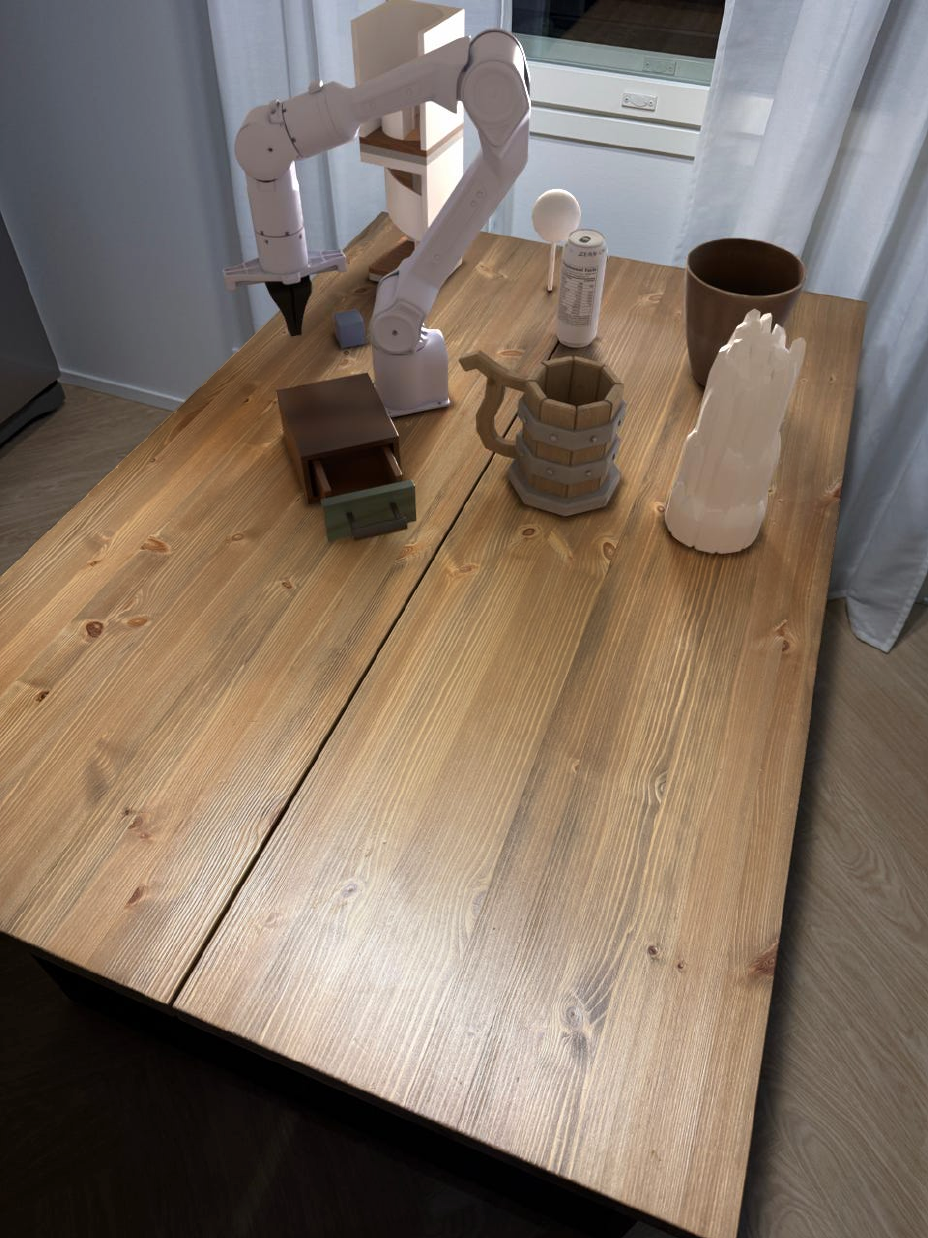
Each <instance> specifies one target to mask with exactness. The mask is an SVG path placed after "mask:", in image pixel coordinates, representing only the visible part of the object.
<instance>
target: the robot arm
mask: <svg viewBox="0 0 928 1238" xmlns="http://www.w3.org/2000/svg"><path fill="white" fill-rule="evenodd" d="M307 90H308V91H305V92H303V93H300V94H298V95H295V96H293V97H290V98H288V99H286V100H283V101H281V102H280V101H279V98H275V99H272V100H270V101H269V102H268V104H261V105H258V106H255V107H253V108H252V109H251V110H249V112H248V113H247V114H246V116H245V118H244V120H243V122H242V124H241V126H240V127H239V129H238V132H237V134H236V136H235V139H234V144H233V145H234V146H233V151H234V156H235V159H236V162H237V163H238V165H239V167H240V168H241V169H242V170H243V172H244V177H245V182H246V191H247V192H246V193H247V197H248V204H249V208H250V214H251V220H252V226H253V233H254V237H255V244H256V248H257V255H258V257H256V258H253V259H250V260H247V261H245V262H242V263H239V264H237V265H233V266H228V267H224V268H221V271H222V277H223V281H224V285H225V289H226V291H227V292H228V293H229V292H233V291H236V290H237V289H238V288H242V287H247V286H253V285H259V284H264V285H265V288H266V289H267V293H268V294H269V296H270V298H271V299H272V300H273V302H274V303H275V304H276V306H277V308H278V309H279V311H280V312H281V314H282V316H283V318H284V320H285V323H286V327H287V331H288V334H289V336H290V337H291V338H293V337H294V338H295V337H299V336H302V335H303V322H304V317H305V311H306V309H307V305H308V303H309V300H310V297H311V295H312V294H313V287H314V286H313V282H312V280H311V275H319V274H324V273H329V272H330V273H331V272H335V271H337V273H345V272H347V271H348V269H347V258H346V255H345V253H344V251H343V250H342V249H341V248H340V249H333V250H332V249H330V250H309V249H308V246H307V239H306V231H305V225H304V224H305V223H304V217H303V216H304V215H303V208H302V199H301V194H300V193H301V192H300V186H299V182H298V179H297V171H296V164H295V162H300V161H301V162H302V161H304V160H307V159H310V158H312V157H315V156H317V155H320V154H323V153H325V152H329V151H330V150H334V149H336V148H338V147H341V146H344V145H346V144H348V143H352V142H353V141H355V140H356V139H357V137H358V135H359V128H360V125H361V124H362V123H365V122H368V121H371V120H374V119H377V118H380V117H383V116H386V115H389V114H392V113H395V112H398V111H401V110H404V109H407V108H410V107H413V106H417V105H420V104H423V103H426V102H430V101H431V102H434V103H436V104H438V105H439V106H441V107H443V108H445V109H447V110H448V111H450V112H452V113H454V114H457V113H458V104H459V101H461V102H462V103H463V110H464V111H465V112H466V115H467V116H468V118H469V120H470V122H471V123H472V124H473V125H474V127H475V128H476V130H477V134H478V138H479V139H478V140H479V142H480V149H479V150H478V152H477V153H476V155H475V156H474V158H473V160H472V161H471V162H470V164H469V166H468V167H467V169H466V170H465V171H464V172H463V176H462V178H461V179H460V181H459V182H458V184H457V186H456V187H455V189H454V190H453V192H452V193H451V195H450V196H449V198H448V199H447V201H446V202H445V204H444V205H443V207H442V208H441V210H440V212H439V213H438V215H437V216H436V218H435V219H434V221H433V222H432V224H431V225H430V227H429V228H428V230H427V231H426V233H425V234H424V236H423V237H422V239H421V241H420V242H419V244H418V245H417V247H416V248H415V250H414V251H413V253H412V254H411V256H410V257H408V258H406V259H404V260H403V261H402V262H401V264H400V265H399V267H398V268H397V269H396V270H394V271H393V272H391V273H389V274H387V275H386V276H384V277H383V278H382V279H381V280H380V282H378V284H377V287H376V290H375V291H376V292H375V295H376V297H375V303H374V307H373V308H374V309H373V313H372V317H371V319H370V322H369V325H368V331H369V336H370V339H371V341H370V343H371V353H372V356H371V357H372V367H373V380H374V381H372V382H373V384H374V386H375V388H376V390H377V392H378V394H379V396H380V398H381V400H382V402H383V404H384V407H385V409H386V411H387V413H388V415H389V417H390V419H391V418H396V417H402V416H406V415H411V414H414V413H420V412H425V411H429V410H435V409H440V408H445V407H449V406H450V405H451V400H450V399H449V356H448V350H447V345H446V342H445V339H444V336H443V333H442V332H441V331H440V329H438V328H436V329H432V328H431V329H430V328H429V329H428V328H426V326H425V324H424V323H425V321H426V320H427V318H428V317H429V315H430V313H431V310H432V308H433V306H434V303H435V301H436V299H437V295H438V293H439V291H440V289H441V288H442V286H443V285H444V284H445V283H446V281H447V279H449V277H450V276H451V275H452V273H453V272H454V271H453V269H454V268H455V266H456V265H457V264H458V262H459V261H460V259H461V258H462V259H463V256H464V255H465V254H466V252H467V251H468V249H470V247H471V245H472V244H473V242H474V241H475V239H476V238H477V236H478V235H479V234H480V233H481V231H482V230H483V228H484V226H485V225H486V224H487V222H488V221H489V219H490V218H491V216H493V214H494V212H495V211H496V210H497V208H498V206H500V204H501V203H502V201H503V200H504V198H505V197H506V195H507V194H508V193H509V191H510V190H511V188H512V187H513V185H514V184H515V183H516V181H517V180H518V179H519V177H520V176H521V174H522V173H523V171H524V170H525V169H526V166H527V164H528V162H529V153H530V130H531V129H530V128H531V127H530V126H531V107H532V106H531V75H530V71H529V68H528V64H527V61H526V55H525V53H524V50H523V47H522V45H521V43H520V41H519V40H518V39H517V37H516V36H515V35H514V34H513V33H511V32H510V31H508V30H506V29H504V28H498V27H490V28H485V29H483V30H482V31H480V32H478V33H477V34H476V35H475V36H474V37H473V38H472V39H471V35H464V37H461V38H457V39H455V40H453V41H451V42H449V43H447V44H445V45H443V46H441V47H439V48H437V49H435V50H433V51H431V52H428V53H426V54H424V55H422V56H420V57H418V58H416V59H413V60H411V61H409V62H407V63H405V64H403V65H401V66H398V67H396V68H394V69H392V70H390V71H388V72H386V73H383V74H381V75H379V76H377V77H375V78H373V79H371V80H368V81H366V82H364V83H362V84H360V85H358V86H356V87H355V86H353V87H348V86H346V85H344V84H342V83H340V82H337V81H335V80H333V81H332V80H331V81H330V82H327V83H324V84H323V80H322V79H320V78H318V79H316V80H313V81H311V82H309V85H308V87H307ZM452 271H453V272H452ZM451 272H452V273H451Z"/></svg>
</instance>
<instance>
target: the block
mask: <svg viewBox="0 0 928 1238" xmlns="http://www.w3.org/2000/svg"><path fill="white" fill-rule="evenodd" d="M332 316H333V325H334V331H335V332H334V333H335V337H336V339H337V342H338V343H339V346H340V348H341V349H346V348H351V347H357V346H362V345H366V343H367V341H366V340H367V339H366V331H365V328H366V327H365V320H364V319H363V317H362V315H361V314H360V311H359V309H358V308H354V309H350V310H343V311H338V312H333V313H332Z"/></svg>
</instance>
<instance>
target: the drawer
mask: <svg viewBox="0 0 928 1238" xmlns="http://www.w3.org/2000/svg"><path fill="white" fill-rule="evenodd" d="M308 463H309V470H310V474H311V477H312V480H313V483H314V485H315V488H316V491H317V493H318V496H319V499H320V501H319V502H320V504H321V511H322V518H323V519H322V520H323V524H324V525H323V526H324V531H325V536H326V539H327V542H332V541H336V540H341V539H345V538H350V537H351V538H352V541H353V542H359V541H363V540H368V539H372V538H376V537H380V536H385V535H388V534H394V533H398V532H402V531H407V530H408V524H410V523H414V522H417V501H416V485H415V483H414V481H413V479H408V480H404V478H403V472H402V470H401V471H400V469H399V467H398V464H397V462H396V460H395V458H394V456H393V454H392V452H391V450H390V448H389V445H388V444H385V445H380V446H375V447H370V448H365V449H361V450H356V451H351V452H346V453H342V454H337V455H332V456H327V457H322V458H318V459H313V460H308Z"/></svg>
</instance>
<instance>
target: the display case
mask: <svg viewBox="0 0 928 1238" xmlns="http://www.w3.org/2000/svg"><path fill="white" fill-rule="evenodd" d="M350 35H351V36H350V37H351V49H352V60H353V76H354V87H356V86H358V85H360V84H362V83H364V82H366V81H368V80H371V79H373V78H375V77H377V76H379V75H381V74H383V73H386V72H388V71H390V70H392V69H394V68H396V67H398V66H401V65H403V64H405V63H407V62H409V61H411V60H413V59H416V58H418V57H420V56H422V55H424V54H426V53H428V52H431V51H433V50H435V49H437V48H439V47H441V46H443V45H445V44H447V43H449V42H451V41H453V40H455V39H457V38H461V37H465V8H461V7H460V8H459V7H454V6H448V5H443V4H436V3H429V2H423V1H417V0H387V1H384V2H383V3H380V4H379V5H377V6H375V7H373V8H371V9H370V10H368V11H366V12H364V13H362V14H360V15H359V16H357V17H355V18H353V19H351V20H350ZM358 140H359V141H358V143H359V156H360V163H365V164H369V165H374V166H379V167H382V168H383V173H384V174H383V175H384V176H383V177H384V190H385V191H384V194H385V207H386V212H387V214H388V217H389V218H390V220H391V221H392V223H393V224H394V225H395V226H396V227H397V228H398V230H400V231H401V232H402V233H404V234H405V235H407V236H402V237H401V238H400V239H399V240H397V242H395V243H394V244H393V245H392V246H390V248H389V249H387V250H386V251H385V252H384V253H383V254H382V255H381V256H379V257H378V258H377V259H375V261H374V262H373V263H371V264H370V265H369V266H368V276H369V277H368V278H369V280H370V281H374V282H378V283H379V282H380V280H381V279H382V278H383V277H384V276H386V275H387V274H389V273H391V272H393V271H394V270H396V269H397V268H398V267H399V265H400V264H401V262H402V261H403V260H404V259H406V258H408V257H410V256H411V254H412V253H413V251H414V250H415V248H416V247H417V245H418V244H419V242H420V241H421V239H422V237H423V236H424V234H425V233H426V231H427V230H428V228H429V227H430V225H431V224H432V222H433V221H434V219H435V218H436V216H437V215H438V213H439V212H440V210H441V208H442V207H443V205H444V204H445V202H446V201H447V199H448V198H449V196H450V195H451V193H452V192H453V190H454V189H455V187H456V186H457V184H458V182H459V181H460V179H461V178H462V176H463V175H464V106H463V103H462V102H461V101H459V104H458V113H457V114H454V113H452V112H450V111H448V110H447V109H445V108H443V107H441V106H439V105H438V104H436V103H434V102H431V101H430V102H426V103H423V104H420V105H417V106H413V107H410V108H407V109H404V110H401V111H398V112H395V113H392V114H389V115H386V116H383V117H380V118H377V119H374V120H371V121H368V122H365V123H362V124H361V125H360V128H359V131H358ZM462 264H463V257H462V258H461V259H460V261H459V262H458V264H457V265H456V266H455V268H454V269H453V271H452V272H451V274H453V273H454V272H455V271H456V269H458V268H459V267H460V266H461V265H462Z"/></svg>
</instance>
